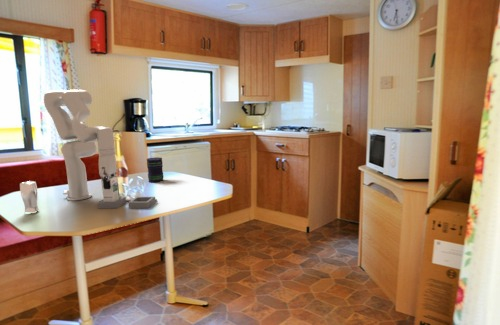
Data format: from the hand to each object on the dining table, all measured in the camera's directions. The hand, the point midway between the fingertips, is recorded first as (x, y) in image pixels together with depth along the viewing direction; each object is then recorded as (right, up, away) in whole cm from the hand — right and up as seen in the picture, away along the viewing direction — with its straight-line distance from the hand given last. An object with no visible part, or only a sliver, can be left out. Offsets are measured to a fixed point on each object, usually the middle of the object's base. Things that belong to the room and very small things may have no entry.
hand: (110, 186), depth 180 cm
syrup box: (0, -10, +2) cm, 10 cm away
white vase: (-36, -12, -7) cm, 38 cm away
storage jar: (+9, 0, +53) cm, 54 cm away
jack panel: (+8, -9, +2) cm, 13 cm away
